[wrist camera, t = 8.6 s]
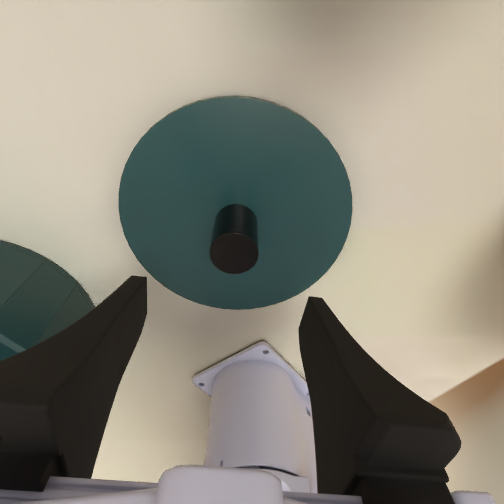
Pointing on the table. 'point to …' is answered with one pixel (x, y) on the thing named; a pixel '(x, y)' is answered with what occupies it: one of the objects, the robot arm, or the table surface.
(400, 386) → the robot arm
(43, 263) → the pot
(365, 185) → the table surface
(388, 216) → the table surface
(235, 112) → the pot lid
